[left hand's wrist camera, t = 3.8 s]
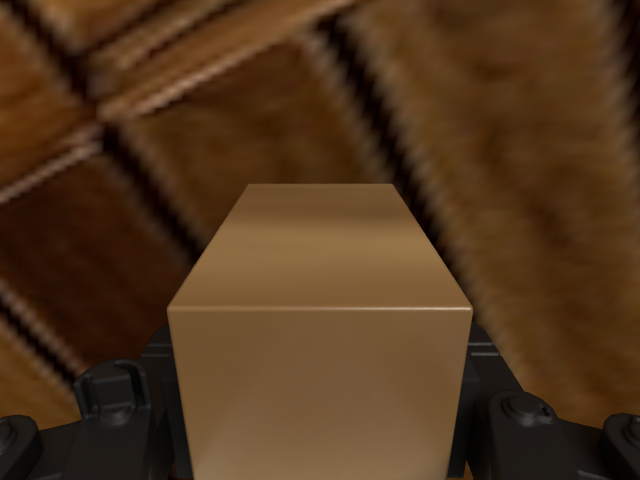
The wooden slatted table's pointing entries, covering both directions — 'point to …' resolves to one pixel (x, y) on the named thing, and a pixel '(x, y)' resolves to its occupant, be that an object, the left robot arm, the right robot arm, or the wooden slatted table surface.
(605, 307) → the wooden slatted table surface
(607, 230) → the wooden slatted table surface
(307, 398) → the bar
